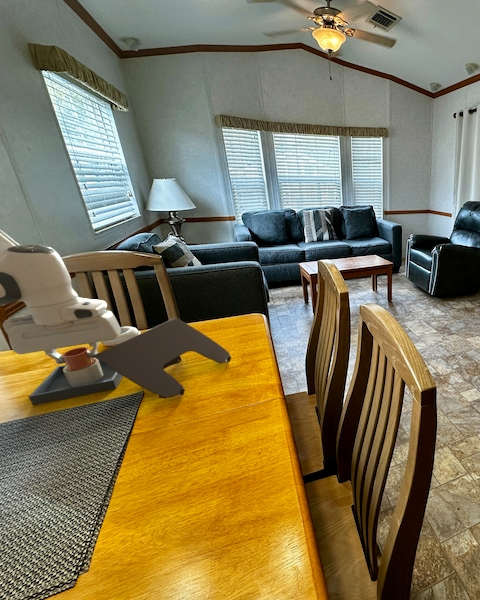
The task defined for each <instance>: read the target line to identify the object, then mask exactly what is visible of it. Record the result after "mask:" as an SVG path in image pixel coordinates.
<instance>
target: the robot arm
mask: <svg viewBox="0 0 480 600" xmlns="http://www.w3.org/2000/svg"><path fill="white" fill-rule="evenodd" d="M16 302H23V303H24V304H25V305H26V306H25V307H26V308H27V310H28V312H29V314H26V315H21V316H20V315H19V316H11V317H8V319H6V320H4V321H3V323H2V327H3V329H4V331H5V333H6V334H7V336H8V341H9V344H10V347H11V349H12V351H13V352H14V353H15V354H17V355H27V354H33V353H39V352H44V353H45V355H46V356H48V357H50V358H51V359H53V360H54V361H55V363H56V364H57V365H61V364H62V365H63V364H66V363H65V361H64V359H63V357H62V354H61V353H60V352H59V351H57V350H58V349H64V348H71V347H76V346H83V345H89V347H90V348H91V349H89V352H88V353H87V354H88V356H89V358H90V359H91V358H95V357H93V355H95V354H98V353H99V352H98V348H99V346H100V344H101V342H102V341H108V340H114V339H116V338H117V337H118V336H119V334H120V333H121V329H120V327H121V326H120V324H119V322H118V320H117V318H116V316H115V314H113V312H112V311H111V310H108V309H107V308H108V304H107V302H106V301H105V300H101V299H100V300H99V299H90V298H83V297H79V295H78V293H77V291H75V289H74V288H73V286H72V278H71V275H70V273H69V271H68V268H67V266H66V264H65V262H64V261H63V259H62V257H61V256H60V254H59V253H58V252H57V251H56V250H55V249H54V248H52V247H50V246H46V245H41V244H20V243H18V242H17V241H16V240H14V238H12V237H11V236H9V235H8V234H7V233H6V232H4V231H3V230H2V229H0V307H2V306H5V305H8V304H13V303H16Z"/></svg>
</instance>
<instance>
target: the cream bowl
mask: <svg viewBox="0 0 480 600" xmlns="http://www.w3.org/2000/svg"><path fill="white" fill-rule="evenodd" d="M93 361H94V362H93V364H91V365H90V366H88V367H85V368H83V369H79V370H68V368H67V366H66V367H65V368H64V369H63V372H64V374H65V376H66V378H67V380H68V383H69V384H70V386H72V387H76V386H81V385H86V384H91V383H94V382H96V381H97V380H99V379H101V378H102V377H103V375H104V373H103V371H102V368H101V366H100V363H99V361H98V359H96V358H93Z"/></svg>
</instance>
